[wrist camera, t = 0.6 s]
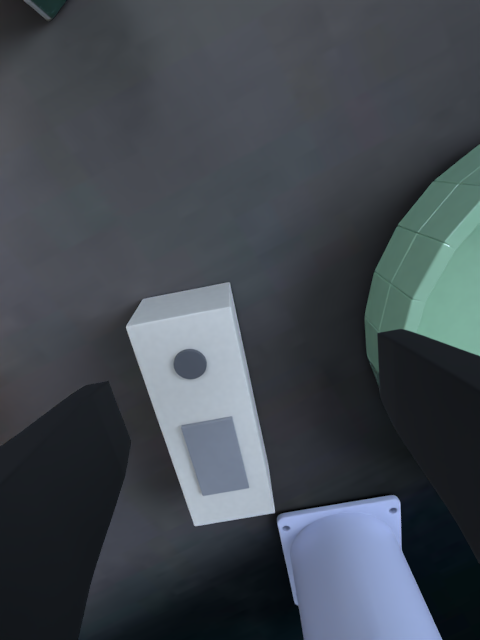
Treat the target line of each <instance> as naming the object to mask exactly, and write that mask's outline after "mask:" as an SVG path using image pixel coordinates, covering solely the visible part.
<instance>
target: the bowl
mask: <svg viewBox="0 0 480 640" xmlns="http://www.w3.org/2000/svg"><path fill="white" fill-rule="evenodd" d="M397 329H404V330H408V331H411V332H414V333H417V334H420V335H423V336H426V337H429V338H431V339H434V340H437V341H440V342H442V343H445V344H448V345H451V346H453V347H456V348H459V349H462V350H464V351H467V352H470V353H473V354H476V355H479V356H480V144H479V145H478V146H477V147H475V148H474V149H473V150H472V151H470V152H469V153H468V154H467V155H465V156H464V157H463V158H462V159H460V160H459V161H458V162H457V163H455V164H454V165H453V166H452V167H450V168H449V169H448V170H446V171H445V172H444V173H443V174H441V175H440V176H439V177H438V178H436V179H435V180H434V182H432V183H431V184H430V186H429V187H428V188H427V189H426V191H425V192H424V193H423V194H422V195H421V197H420V198H419V199H418V200H417V202H416V203H415V204H414V205H413V207H412V208H411V209H410V210H409V211H408V213H407V214H406V215H405V216H404V218H403V219H402V220H401V221H400V222H399V224H398V226H397V227H396V229H395V231H394V233H393V235H392V237H391V239H390V241H389V243H388V245H387V247H386V249H385V251H384V253H383V255H382V257H381V259H380V261H379V263H378V265H377V267H376V269H375V272H374V274H373V279H372V283H371V288H370V292H369V297H368V301H367V306H366V311H365V334H366V350H367V358H368V360H369V363H370V365H371V368H372V370H373V373H374V375H375V378H376V381H377V383H378V386H379V362H378V339H377V333H380V332H386V331H391V330H397ZM379 388H380V386H379Z"/></svg>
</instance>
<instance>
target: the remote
mask: <svg viewBox="0 0 480 640" xmlns="http://www.w3.org/2000/svg"><path fill="white" fill-rule="evenodd" d="M126 330H127V333H128V335H129V338H130V341H131V344H132V347H133V350H134V353H135V356H136V359H137V361H138V364H139V367H140V370H141V373H142V376H143V379H144V382H145V384H146V387H147V390H148V393H149V396H150V399H151V402H152V405H153V408H154V410H155V413H156V416H157V419H158V422H159V425H160V428H161V431H162V434H163V436H164V439H165V442H166V445H167V448H168V451H169V454H170V457H171V460H172V462H173V465H174V468H175V471H176V474H177V477H178V480H179V483H180V486H181V488H182V491H183V494H184V497H185V500H186V503H187V506H188V509H189V511H190V514H191V517H192V520H193V523H194V526H200V525H206V524H212V523H218V522H224V521H230V520H236V519H242V518H248V517H254V516H260V515H266V514H272V513H275V508H274V501H273V494H272V487H271V480H270V473H269V466H268V461H267V456H266V451H265V446H264V442H263V437H262V432H261V428H260V423H259V418H258V413H257V409H256V404H255V399H254V394H253V390H252V385H251V380H250V376H249V371H248V366H247V361H246V357H245V352H244V347H243V342H242V338H241V333H240V328H239V324H238V319H237V314H236V309H235V305H234V300H233V295H232V290H231V286H230V283H229V282H227V283H222V284H217V285H212V286H207V287H201V288H196V289H191V290H186V291H181V292H176V293H171V294H166V295H160V296H155V297H150V298H145V299H142V301H141V303H140V304H139V306H138V308H137V309H136V311H135V312H134V314H133V316H132V317H131V319H130V321H129V322H128V324H127V326H126Z"/></svg>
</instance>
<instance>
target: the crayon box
mask: <svg viewBox="0 0 480 640" xmlns="http://www.w3.org/2000/svg"><path fill="white" fill-rule="evenodd" d="M23 1H25V2H26V3H27V4H28V5H30V6H31V7H32V8H33V9H34V10H36V11H37V12H38V13H39V14H40V15H42V17H43V18H44V19H45V20H47V21H50V20H52V19H53V18H54V17H55V16H56V14H57V13H58V11H59V10H60V9H61V7H62V6H63V5H64V3H65V2H66V0H23Z"/></svg>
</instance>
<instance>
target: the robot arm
mask: <svg viewBox="0 0 480 640" xmlns="http://www.w3.org/2000/svg"><path fill="white" fill-rule="evenodd" d="M377 339H378V362H379V386H380V399H381V401H382V404H383V406H384V408H385V410H386V412H387V414H388V416H389V418H390V420H391V422H392V424H393V426H394V428H395V430H396V432H397V433H398V435H399V436H400V438H401V439H402V441H403V442H404V444H405V445H406V447H407V448H408V450H409V451H410V453H411V454H412V456H413V457H414V459H415V460H416V462H417V463H418V465H419V466H420V468H421V469H422V471H423V472H424V474H425V475H426V477H427V478H428V480H429V481H430V483H431V484H432V486H433V487H434V489H435V490H436V491H437V493H438V494H439V496H440V497H441V499H442V500H443V502H444V503H445V505H446V506H447V508H448V509H449V511H450V513H451V514H452V516H453V518H454V519H455V521H456V522H457V524H458V526H459V527H460V529H461V531H462V533H463V535H464V536H465V538H466V540H467V542H468V544H469V546H470V547H471V549H472V551H473V553H474V555H475V557H476V558H477V560H478V562H479V564H480V356H479V355H476V354H473V353H470V352H467V351H464V350H462V349H459V348H456V347H453V346H451V345H448V344H445V343H442V342H440V341H437V340H434V339H431V338H429V337H426V336H423V335H420V334H417V333H414V332H411V331H408V330H404V329H397V330H391V331H386V332H380V333H377ZM130 445H131V440H130V437H129V434H128V432H127V429H126V427H125V424H124V421H123V419H122V416H121V413H120V411H119V408H118V406H117V403H116V400H115V398H114V395H113V392H112V390H111V387H110V385H109V382H108V381H107V382H102V383H96V384H90V385H86V386H84V387H82V388H81V389H79V390H77V391H76V392H74V393H73V394H71V395H70V396H69V397H67V398H66V399H64V400H63V401H62V402H60V403H59V404H58V405H56V406H55V407H54V408H52V409H51V410H50V411H48V412H47V413H46V414H44V415H43V416H42V417H40V418H39V419H38V420H36V421H35V422H34V423H32V424H31V425H30V426H28V427H27V428H26V429H24V430H23V431H22V432H20V433H19V434H18V435H16V436H15V437H14V438H12V439H11V440H9V441H8V442H7V443H5V444H4V445H2V446H1V447H0V640H78V637H79V632H80V628H81V624H82V619H83V615H84V610H85V606H86V602H87V597H88V593H89V589H90V584H91V581H92V577H93V574H94V570H95V567H96V563H97V560H98V557H99V554H100V551H101V548H102V545H103V542H104V539H105V536H106V533H107V530H108V527H109V524H110V521H111V518H112V515H113V512H114V509H115V506H116V503H117V500H118V497H119V493H120V490H121V487H122V484H123V481H124V477H125V473H126V468H127V463H128V457H129V451H130ZM277 525H278V529H279V534H280V539H281V543H282V548H283V552H284V557H285V562H286V566H287V571H288V575H289V580H290V585H291V589H292V594H293V598H294V603H295V604H296V605H298V606H299V612H300V618H301V624H302V630H303V636H304V640H442V638H441V636H440V634H439V632H438V629H437V627H436V625H435V623H434V621H433V618H432V616H431V614H430V612H429V610H428V607H427V605H426V603H425V601H424V599H423V596H422V594H421V592H420V590H419V588H418V585H417V583H416V581H415V579H414V577H413V574H412V572H411V570H410V568H409V566H408V563H407V561H406V559H405V557H404V554H403V552H402V548H401V509H400V501H399V499H398V497H397V496H395V495H388V496H382V497H376V498H370V499H364V500H358V501H352V502H346V503H340V504H334V505H328V506H322V507H316V508H310V509H304V510H298V511H292V512H286V513H282V514H280V515H278V517H277Z"/></svg>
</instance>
